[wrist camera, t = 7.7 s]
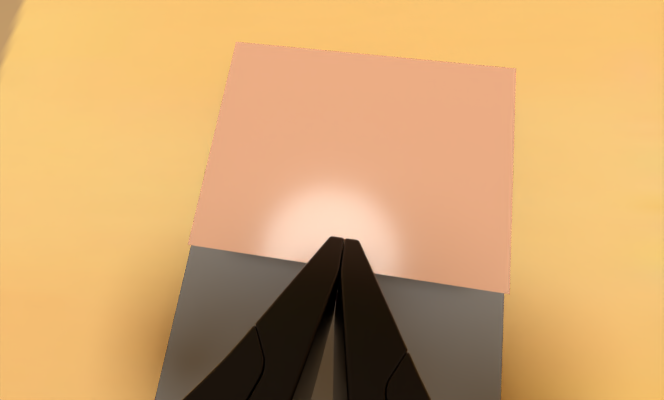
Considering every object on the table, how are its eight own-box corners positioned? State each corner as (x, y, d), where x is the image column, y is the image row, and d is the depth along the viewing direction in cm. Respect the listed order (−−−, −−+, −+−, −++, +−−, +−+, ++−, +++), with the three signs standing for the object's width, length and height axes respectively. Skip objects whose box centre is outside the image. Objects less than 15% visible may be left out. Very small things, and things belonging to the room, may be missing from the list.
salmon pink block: (509, 294, 10) (516, 68, 11) (187, 244, 10) (236, 41, 12) (463, 281, 13) (472, 114, 15) (229, 246, 14) (261, 91, 16)
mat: (490, 473, 12) (497, 484, 12) (159, 407, 13) (151, 414, 13) (504, 95, 16) (510, 89, 15) (238, 68, 17) (234, 61, 16)
